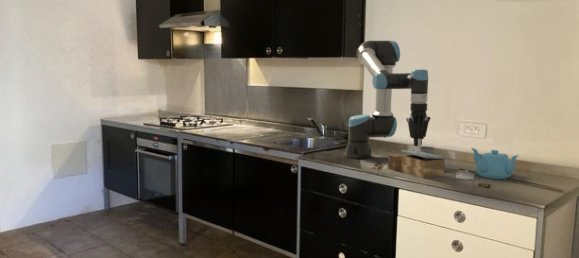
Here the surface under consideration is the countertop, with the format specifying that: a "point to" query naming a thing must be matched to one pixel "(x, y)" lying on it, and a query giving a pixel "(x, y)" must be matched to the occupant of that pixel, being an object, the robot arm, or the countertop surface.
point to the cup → (428, 150)
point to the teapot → (494, 165)
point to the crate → (422, 166)
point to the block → (394, 162)
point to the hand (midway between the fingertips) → (417, 152)
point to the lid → (423, 154)
